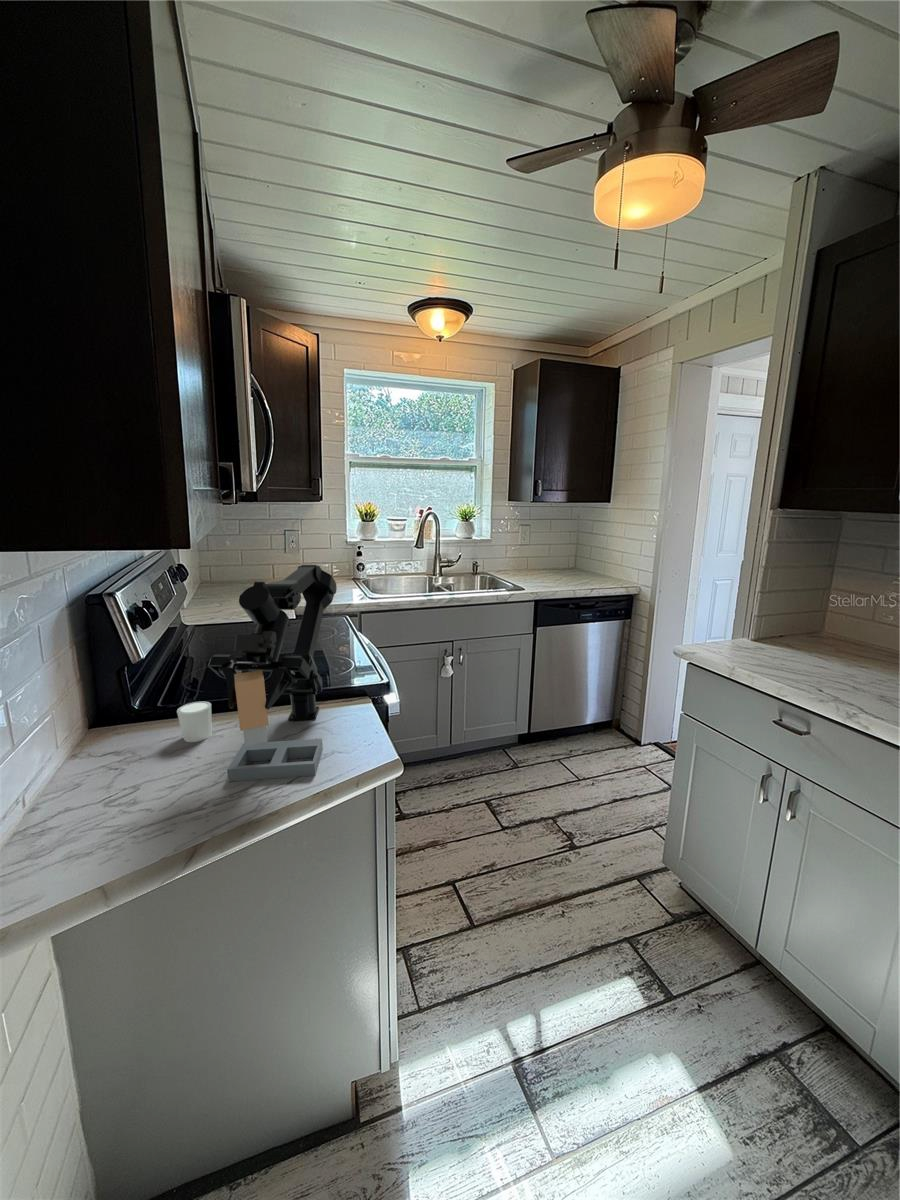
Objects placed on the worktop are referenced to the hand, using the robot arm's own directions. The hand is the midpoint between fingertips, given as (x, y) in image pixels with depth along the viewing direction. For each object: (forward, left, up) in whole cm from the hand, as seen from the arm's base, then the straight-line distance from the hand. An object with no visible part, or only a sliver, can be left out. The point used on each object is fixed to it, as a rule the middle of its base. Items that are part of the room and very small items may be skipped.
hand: (248, 708), depth 91 cm
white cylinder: (-17, -17, -14) cm, 28 cm away
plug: (-1, 0, -7) cm, 7 cm away
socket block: (-2, +4, -13) cm, 14 cm away
